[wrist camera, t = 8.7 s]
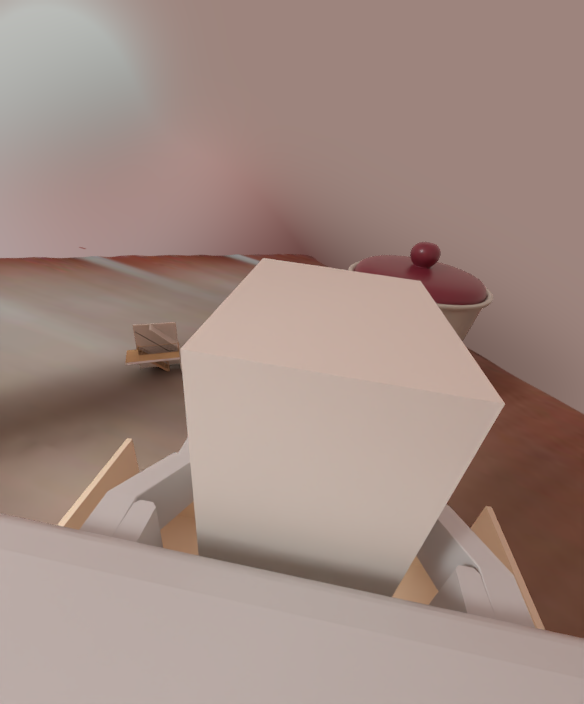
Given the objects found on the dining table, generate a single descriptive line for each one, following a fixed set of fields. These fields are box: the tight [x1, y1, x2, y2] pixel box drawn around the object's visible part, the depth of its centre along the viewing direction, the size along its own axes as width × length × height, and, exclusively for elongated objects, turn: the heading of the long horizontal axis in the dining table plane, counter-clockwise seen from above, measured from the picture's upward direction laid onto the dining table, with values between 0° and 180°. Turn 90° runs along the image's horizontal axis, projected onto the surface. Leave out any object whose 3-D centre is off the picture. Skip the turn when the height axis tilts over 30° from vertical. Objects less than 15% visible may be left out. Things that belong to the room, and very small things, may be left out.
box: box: [180, 258, 505, 597], centre depth 11 cm, size 6×5×14 cm
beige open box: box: [57, 438, 545, 630], centre depth 18 cm, size 17×27×8 cm, turn 82°
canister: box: [349, 242, 493, 341], centre depth 44 cm, size 18×18×21 cm
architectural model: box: [126, 322, 182, 371], centre depth 44 cm, size 3×7×7 cm, turn 111°
